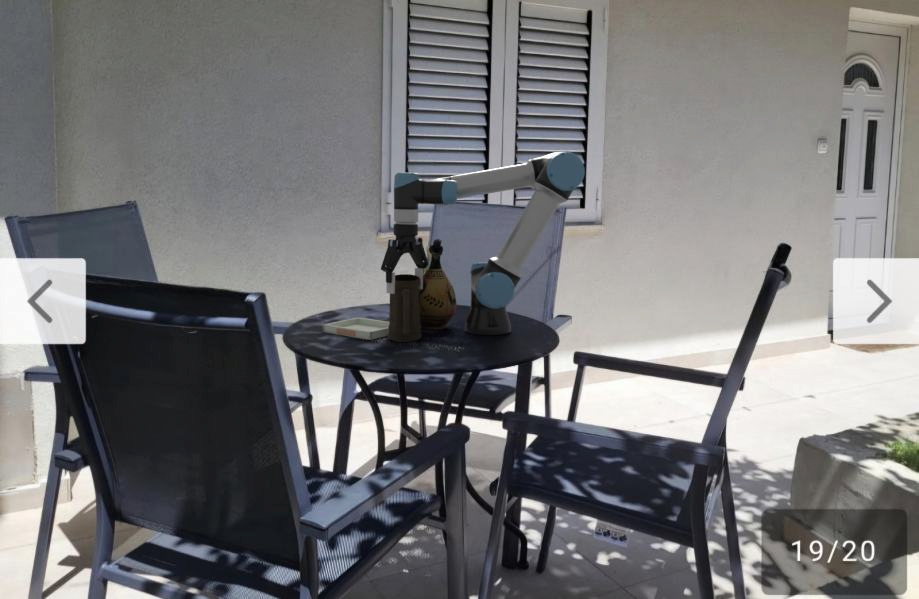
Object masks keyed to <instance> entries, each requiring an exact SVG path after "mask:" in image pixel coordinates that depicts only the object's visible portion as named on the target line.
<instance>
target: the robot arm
mask: <svg viewBox="0 0 919 599" xmlns="http://www.w3.org/2000/svg"><path fill="white" fill-rule="evenodd" d="M585 169H586V168H585V165H584V162H583V160H582V159H581V158H580V157H579V155H576V154H575V153H573V152H570V151H568V150H567V151H566V150H562V151H556V152H552V153H549V154H546V155H543V156H539V157H536V158H531V159H528V160H527V161H526V162H525V163H521V164H515V165H508V166H502V167H498V168H490V169H486V170H480V171H475V172H473V171H472V172H468V173H463V174H457V175H452V176H445V177H439V178H431V179H422V178H421V179H420V175H419V173H418V172H397V173H396V174H394V182H393V222H395V223H394V224H393V235H394V236H395V239H388V240H387V241H388V242H387V249H386V251H385V254H384V257H383V260H382V263H381V266H380V270H381V271H382V272H385V282H386V294H390V293H391V294H395V275H396V272H394V271H395V269H396V267H397V265H398V263H399V261H400V259H401V257H402V256H403V255H404V254H409V255H410V257H411V260H412V261H413V263H414V264H415V268H414V275H416V276H418V277H419V278H420V285H419V289H423V276H424V275H423V274H425V272H424V268H425V269H426V268H427V266H429V259H428V257H427V253H426V251H425V248H424V244H423V237H419V236H418V235H419V232H418V231H419V224H418V222H419V205H423V204H424V205H425V204H426V205H445V206H448V205H456V203H457V201H458V199H465V198H472V197H476V196H482V195H486V194H487V195H489V194H493V193H494V194H495V193H500V192H505V191H511V190H517V189H523V188H529V187H530V188H531V189H533V190H534V192H533V194H532V196H531V198H530V199H529V201H528V202H527V204H526V206H525V207H524V210H523V211H522V213H521V214H520V216H519V218H518V220H517V221H516V223H515V224H514V226H513V228H512V229H511V231H510V233H509V235H508V236H507V239H506V240H505V242H504V243H503V244H502V247H501V248H500V250H499V252H498V253H497V255H496V256H493V257H489V259H488V261H487V262H474V263H472V264H471V267H470V268H471V269H470V272H469V273H470V309H469V312H468V315H467V318H466V322H465V325H464V326H465V332H466V333H468V334H473V335H479V336H499V335H505V334H510V333H511V330H512V328H511V327H512V326H511V322H510V318H509V314H508V311H507V305H509V304H510V303H511V301H512V300H513V298H514V296H515V289H516V288H517V286H518V284H519V283H520V280H521V279H522V273H521V270H522V268H523V266H524V264H525V263H526V262H527V259H528V258H529V256H530V254H532V253H531V252H532V251H533V249H534V248H535V245H537V242H538V241H539V239H540V237H541V236H542V235H543V232H544V230H545V229H546V228H547V226H548V225H549V222H550V220H551V219H552V217H553V215H554V214H555V212H556V210H557V209H558V207H559V206H560V204H563V203H566V202H568V200H569V199H570V197H571V195H572V193H573V192H574V190H575V189H577V188H578V187H579V186H580V185H581V183H582V182H583V180H584V178H585ZM417 236H418V237H417ZM427 259H428V260H427Z"/></svg>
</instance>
